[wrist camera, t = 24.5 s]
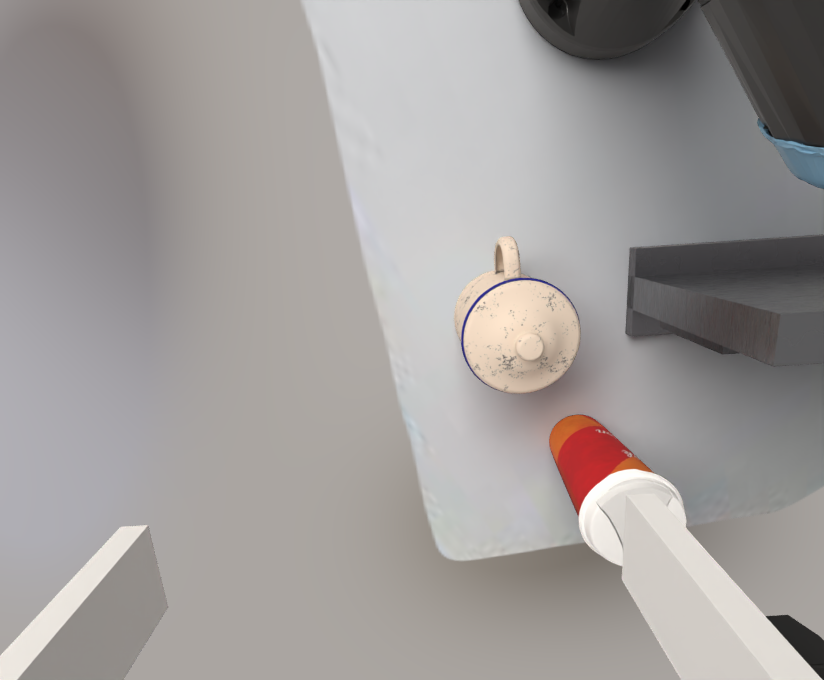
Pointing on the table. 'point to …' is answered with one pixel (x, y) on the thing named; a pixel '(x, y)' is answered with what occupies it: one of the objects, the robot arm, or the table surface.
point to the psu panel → (733, 296)
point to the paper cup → (604, 482)
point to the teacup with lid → (516, 326)
